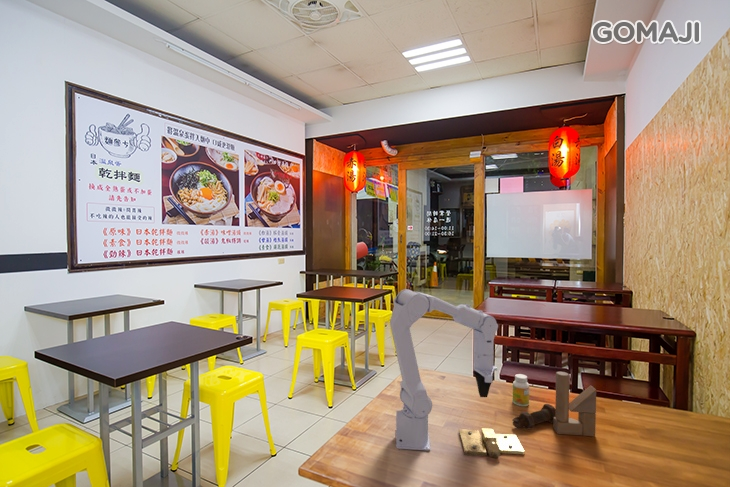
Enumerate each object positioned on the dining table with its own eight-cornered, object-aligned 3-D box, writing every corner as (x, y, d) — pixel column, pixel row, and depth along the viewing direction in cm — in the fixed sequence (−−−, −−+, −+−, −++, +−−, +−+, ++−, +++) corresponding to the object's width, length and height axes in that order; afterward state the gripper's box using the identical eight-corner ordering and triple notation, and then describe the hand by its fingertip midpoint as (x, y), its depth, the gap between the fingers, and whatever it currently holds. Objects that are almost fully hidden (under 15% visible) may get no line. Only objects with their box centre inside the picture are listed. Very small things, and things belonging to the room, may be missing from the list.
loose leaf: (486, 452, 101) (486, 441, 101) (480, 436, 109) (480, 425, 109) (524, 454, 100) (524, 443, 100) (515, 437, 108) (515, 427, 108)
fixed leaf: (465, 456, 99) (465, 444, 99) (458, 432, 111) (458, 422, 111) (500, 458, 98) (500, 446, 98) (490, 434, 110) (490, 423, 110)
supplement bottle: (509, 401, 131) (509, 374, 131) (520, 398, 133) (520, 372, 133) (521, 407, 126) (521, 380, 126) (532, 404, 128) (532, 377, 128)
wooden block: (595, 437, 108) (596, 377, 107) (557, 434, 110) (558, 375, 109) (590, 430, 112) (591, 372, 111) (552, 427, 113) (553, 370, 113)
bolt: (513, 434, 113) (549, 423, 119) (524, 433, 109) (561, 422, 114) (506, 414, 116) (542, 404, 121) (516, 412, 112) (553, 402, 117)
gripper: (503, 361, 104) (503, 408, 105) (491, 345, 118) (491, 386, 119) (478, 360, 105) (477, 407, 105) (469, 344, 119) (468, 385, 120)
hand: (483, 396), depth 112 cm, fingers closed
